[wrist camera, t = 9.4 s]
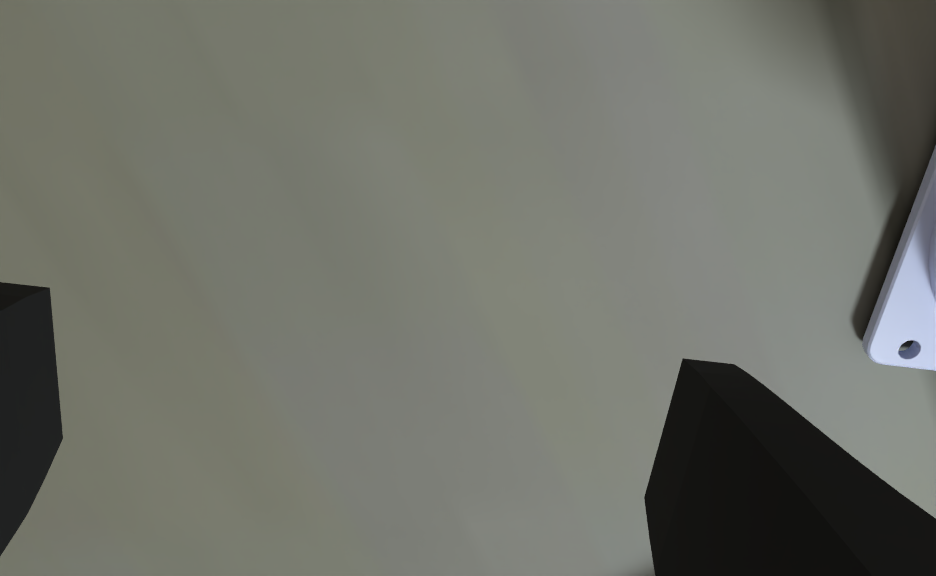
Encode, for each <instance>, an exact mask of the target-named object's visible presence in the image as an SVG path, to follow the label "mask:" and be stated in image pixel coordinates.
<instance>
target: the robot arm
mask: <svg viewBox="0 0 936 576" xmlns="http://www.w3.org/2000/svg"><path fill="white" fill-rule="evenodd" d="M910 340H913V344H912V345H911V346H910V348H908V349H906V350H904V351H899V347H900V346H901V345H902V344H903V343H905V342H906V341H910ZM862 345H863V348H864V351H865V352H866V354H867V355H868V356H869V358H871V359H872V360H873V361H874V362H876V363H879V364H884V365H892V366H901V367H910V368H918V369H927V370H935V371H936V146H935V149H934V151H933V154H932V157H931V159H930V162H929V165H928V167H927V170H926V172H925V175H924V178H923V180H922V183H921V186H920V188H919V191H918V194H917V196H916V199H915V202H914V204H913V207H912V210H911V212H910V215H909V218H908V220H907V223H906V226H905V228H904V231H903V234H902V236H901V239H900V242H899V244H898V247H897V250H896V252H895V255H894V257H893V260H892V263H891V265H890V268H889V271H888V273H887V276H886V279H885V281H884V284H883V287H882V289H881V292H880V295H879V297H878V300H877V303H876V305H875V308H874V311H873V313H872V316H871V319H870V321H869V324H868V327H867V329H866V332H865V335H864V337H863V343H862ZM62 439H63V435H62V423H61V412H60V401H59V389H58V378H57V366H56V355H55V343H54V332H53V320H52V309H51V297H50V288H47V287H38V286H29V285H20V284H11V283H2V282H0V556H1V554H2V553H3V551H4V550H5V548H6V547H7V545H8V543H9V542H10V540H11V539H12V537H13V536H14V534H15V533H16V531H17V530H18V528H19V526H20V525H21V523H22V522H23V520H24V518H25V517H26V515H27V514H28V512H29V510H30V508H31V506H32V504H33V502H34V500H35V498H36V495H37V493H38V491H39V489H40V487H41V485H42V483H43V481H44V479H45V477H46V475H47V473H48V470H49V468H50V466H51V464H52V461H53V459H54V457H55V455H56V452H57V450H58V448H59V446H60V444H61V441H62ZM644 499H645V506H646V514H647V522H648V530H649V538H650V544H651V551H652V557H653V564H654V570H655V575H656V576H936V519H935V518H934V517H933V516H931V515H930V514H928V513H927V512H926V511H924V510H923V509H921V508H920V507H919V506H917V505H916V504H915V503H913V502H912V501H910V500H909V499H908V498H906V497H905V496H903V495H902V494H901V493H899V492H898V491H897V490H895V489H894V488H893V487H891V486H890V485H889V484H887V483H886V482H885V481H883V480H882V479H881V478H879V477H878V476H877V475H876V474H874V473H873V472H872V471H870V470H869V469H868V468H866V467H865V466H864V465H863V464H861V463H860V462H859V461H858V460H856V459H855V458H854V457H852V456H851V455H850V454H849V453H847V452H846V451H845V450H844V449H842V448H841V447H840V446H839V445H837V444H836V443H835V442H834V441H832V440H831V439H830V438H829V437H827V436H826V435H825V434H824V433H823V432H821V431H820V430H819V429H818V428H816V427H815V426H814V425H813V424H811V423H810V422H809V421H808V420H807V419H805V418H804V417H803V416H802V415H800V414H799V413H798V412H797V411H795V410H794V409H793V408H792V407H791V406H789V405H788V404H787V403H786V402H784V401H783V400H782V399H781V398H779V397H778V396H777V395H776V394H774V393H773V392H772V391H771V390H769V389H768V388H767V387H766V386H764V385H763V384H762V383H760V382H759V381H758V380H756V379H755V378H754V377H752V376H751V375H750V374H748V373H747V372H745V371H744V370H742V369H741V368H739V367H738V366H736V365H734V364H727V363H718V362H709V361H700V360H691V359H683V360H682V363H681V367H680V370H679V374H678V378H677V381H676V385H675V389H674V392H673V396H672V399H671V403H670V407H669V410H668V414H667V418H666V421H665V425H664V428H663V432H662V436H661V439H660V443H659V447H658V450H657V454H656V457H655V461H654V465H653V468H652V472H651V475H650V479H649V483H648V486H647V490H646V494H645V497H644Z"/></svg>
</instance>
